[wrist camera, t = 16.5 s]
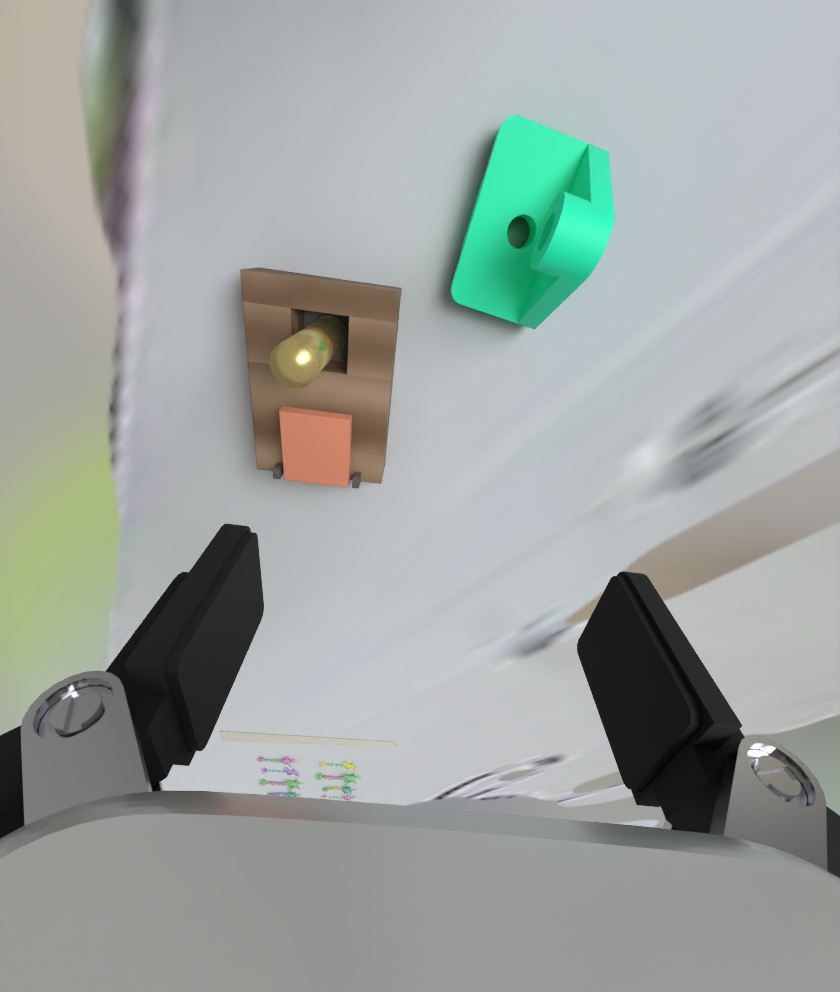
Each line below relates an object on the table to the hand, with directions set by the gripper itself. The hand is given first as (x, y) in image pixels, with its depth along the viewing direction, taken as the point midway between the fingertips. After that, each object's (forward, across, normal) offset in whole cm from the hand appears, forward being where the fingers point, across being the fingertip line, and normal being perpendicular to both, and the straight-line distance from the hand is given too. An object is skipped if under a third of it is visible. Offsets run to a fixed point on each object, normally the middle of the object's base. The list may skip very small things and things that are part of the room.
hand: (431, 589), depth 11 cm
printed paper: (+30, +10, +82) cm, 88 cm away
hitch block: (+31, +9, +5) cm, 33 cm away
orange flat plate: (+26, +9, +10) cm, 29 cm away
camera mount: (+32, -6, -9) cm, 33 cm away
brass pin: (+31, +9, +1) cm, 32 cm away
